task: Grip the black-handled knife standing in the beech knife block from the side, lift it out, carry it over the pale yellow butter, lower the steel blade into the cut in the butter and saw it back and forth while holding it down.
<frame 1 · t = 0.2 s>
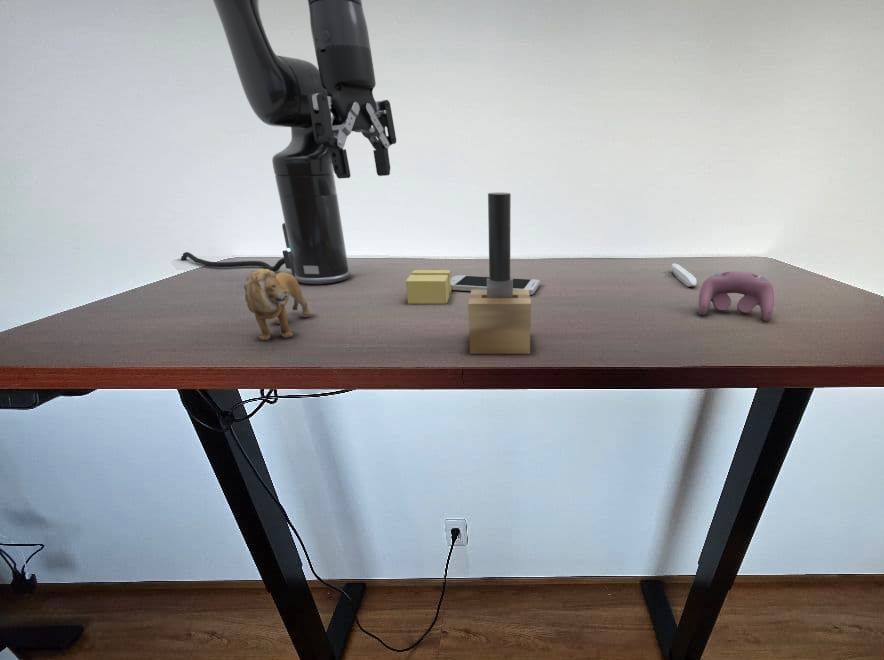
hand: (364, 176, 74), 17 cm above the table, tool pointing down, fingers open, 8 cm apart
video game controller: (731, 315, 70), on the table
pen: (681, 280, 88), on the table
knife: (499, 274, 55), in the knife block
butter: (431, 295, 78), on the table
lion figurine: (287, 331, 63), on the table
knife block: (500, 344, 59), on the table
smartphone: (492, 288, 83), on the table
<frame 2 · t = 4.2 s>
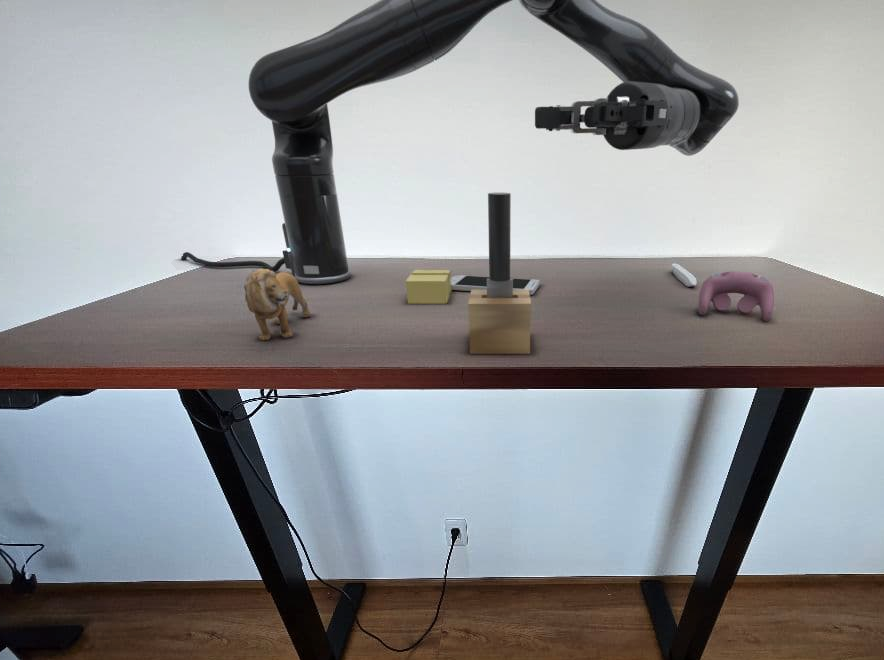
hand: (565, 115, 54), 24 cm above the table, tool horizontal, fingers open, 8 cm apart
nothing on the table moved.
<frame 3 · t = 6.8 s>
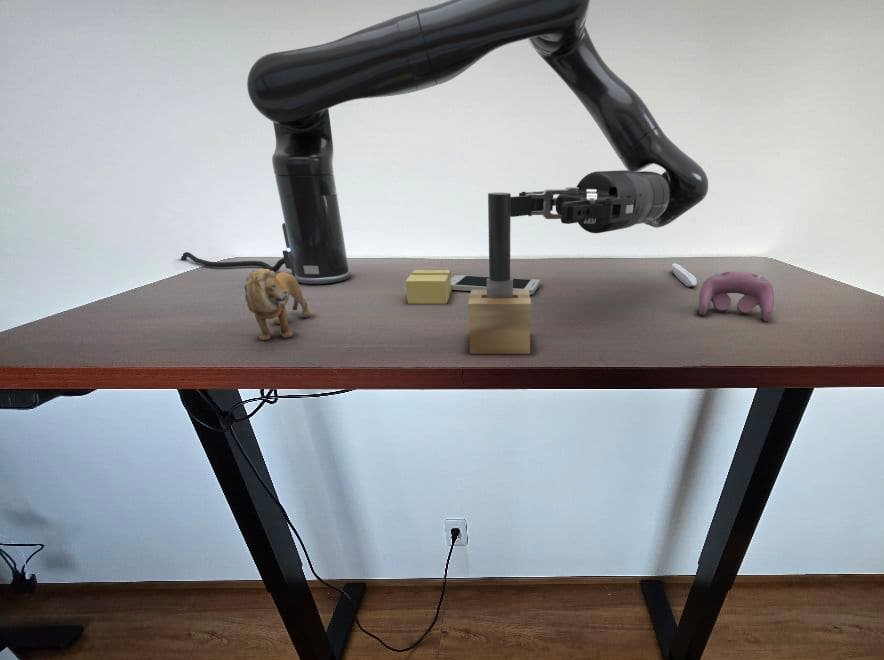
hand: (534, 210, 55), 15 cm above the table, tool horizontal, fingers open, 8 cm apart
nothing on the table moved.
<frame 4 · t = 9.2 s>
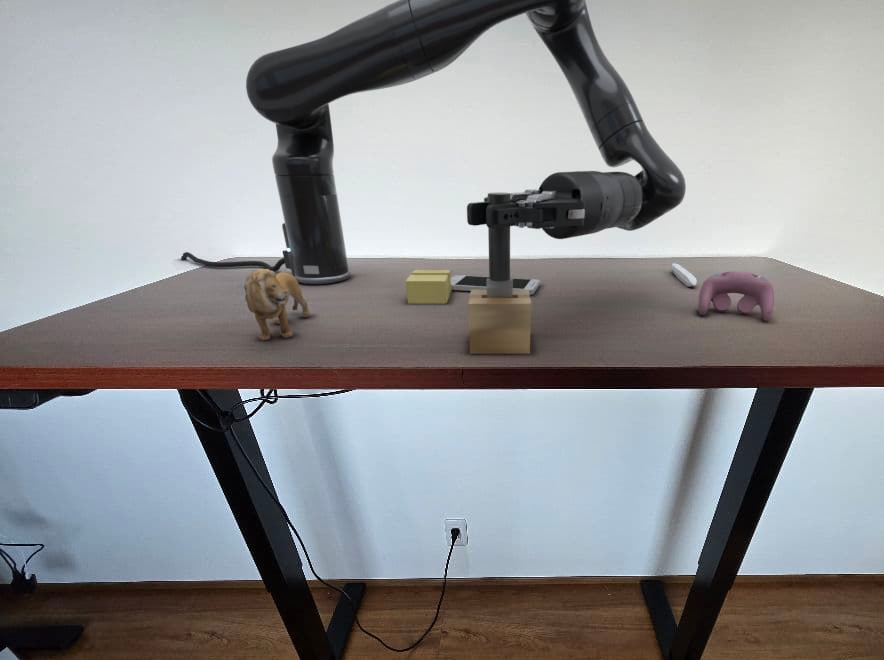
hand: (479, 216, 50), 15 cm above the table, tool horizontal, fingers closed on knife, 2 cm apart
knife: (499, 274, 55), in the knife block, touching gripper
everything else where it was.
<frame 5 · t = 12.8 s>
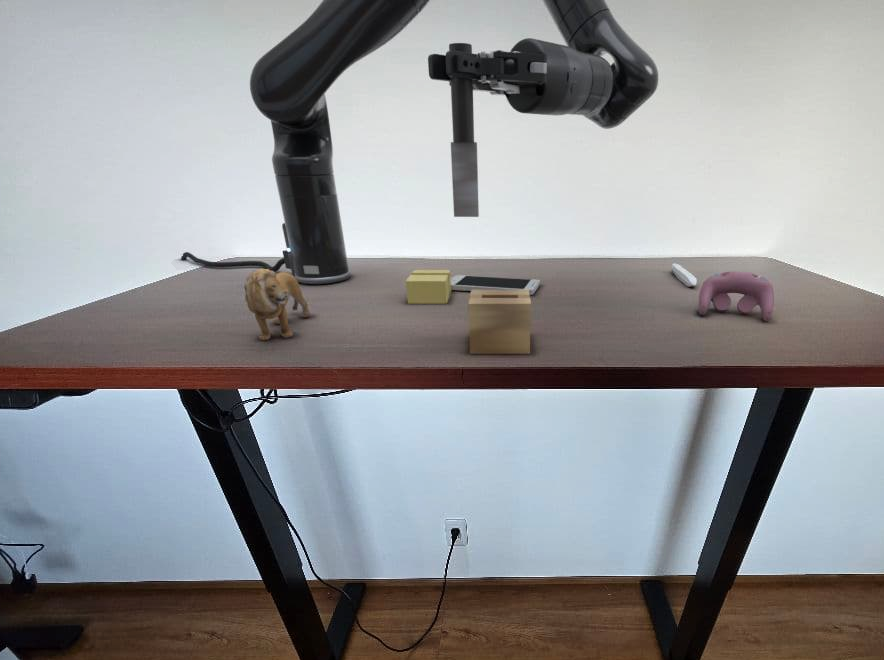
hand: (439, 64, 50), 29 cm above the table, tool horizontal, fingers closed on knife, 2 cm apart
knife: (463, 137, 55), point 22 cm above the table, touching gripper
everything else where it was.
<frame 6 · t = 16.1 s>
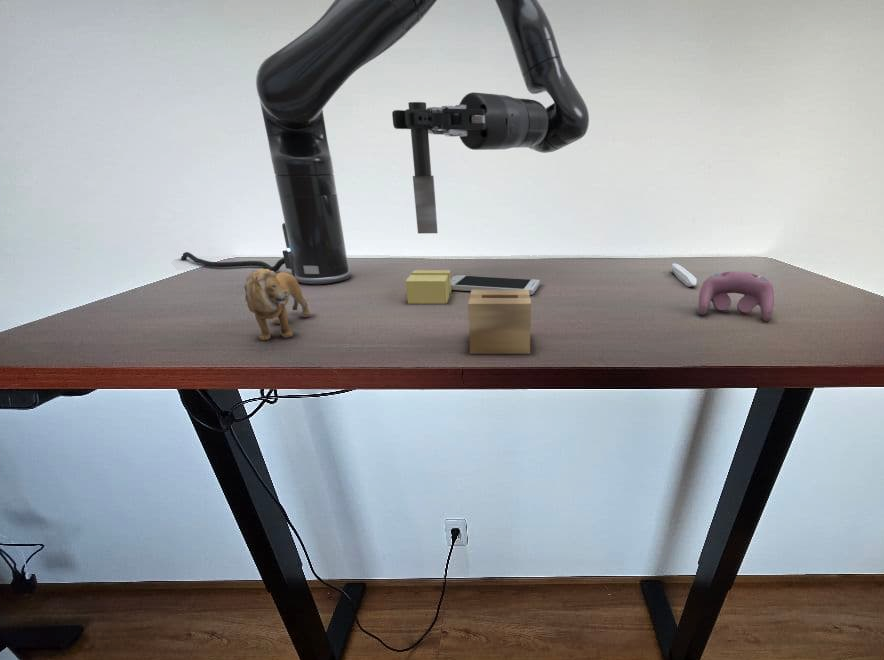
hand: (401, 119, 65), 25 cm above the table, tool horizontal, fingers closed on knife, 2 cm apart
knife: (422, 171, 69), point 18 cm above the table, touching gripper
everything else where it was.
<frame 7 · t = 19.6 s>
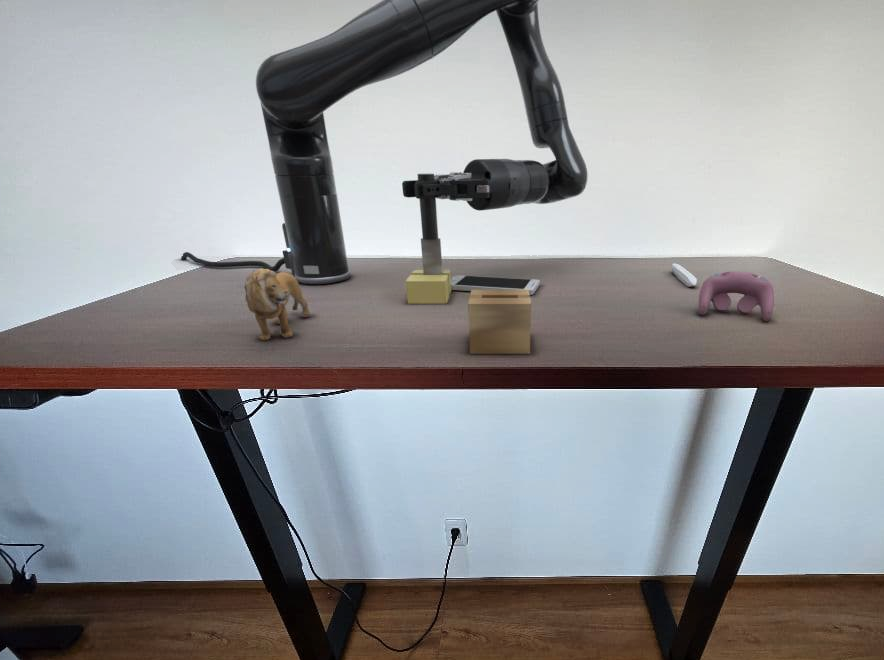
hand: (410, 189, 69), 16 cm above the table, tool horizontal, fingers closed on knife, 2 cm apart
knife: (430, 235, 74), point 9 cm above the table, touching gripper
everything else where it was.
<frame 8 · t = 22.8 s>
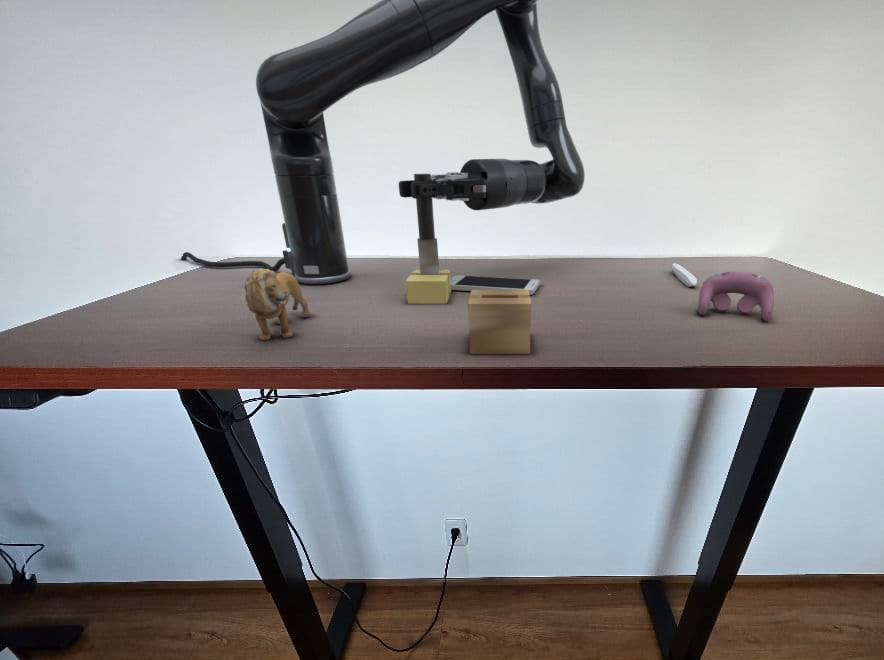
hand: (406, 189, 69), 16 cm above the table, tool horizontal, fingers closed on knife, 2 cm apart
knife: (426, 235, 74), point 9 cm above the table, touching gripper
everything else where it was.
at the end: knife 0.1 cm off-centre on the butter, point 9.4 cm above the butter's base; the gripper is holding knife; knife tilted 0° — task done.
